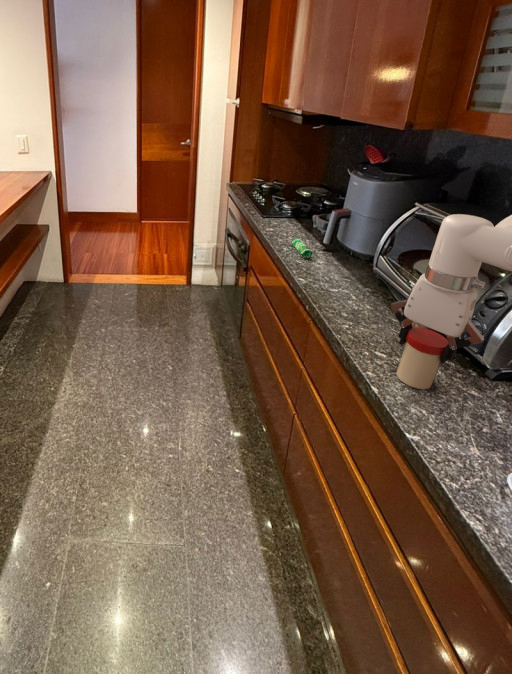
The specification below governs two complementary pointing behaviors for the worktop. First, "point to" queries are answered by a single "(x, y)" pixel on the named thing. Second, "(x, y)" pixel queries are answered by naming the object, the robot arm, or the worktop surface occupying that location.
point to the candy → (301, 248)
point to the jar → (417, 368)
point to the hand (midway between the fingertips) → (423, 350)
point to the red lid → (426, 341)
